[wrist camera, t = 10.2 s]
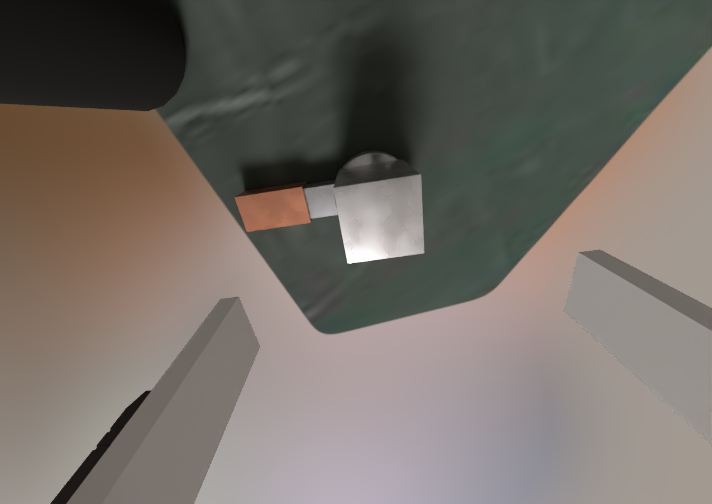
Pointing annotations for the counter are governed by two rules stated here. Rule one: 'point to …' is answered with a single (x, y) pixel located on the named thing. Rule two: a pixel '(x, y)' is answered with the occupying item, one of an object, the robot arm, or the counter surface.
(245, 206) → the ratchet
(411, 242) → the silver metal block
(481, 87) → the counter surface
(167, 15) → the coffee jar
